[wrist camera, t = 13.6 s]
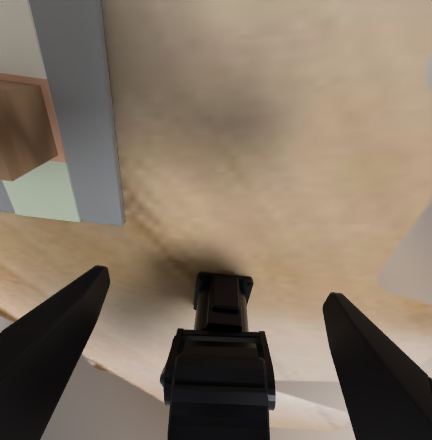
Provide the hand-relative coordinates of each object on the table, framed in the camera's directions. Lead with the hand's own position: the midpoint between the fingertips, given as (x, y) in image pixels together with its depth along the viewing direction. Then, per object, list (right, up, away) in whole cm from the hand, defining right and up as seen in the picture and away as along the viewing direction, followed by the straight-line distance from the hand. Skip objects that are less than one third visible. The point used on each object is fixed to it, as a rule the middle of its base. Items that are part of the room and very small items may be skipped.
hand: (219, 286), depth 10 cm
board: (-15, +11, +9) cm, 21 cm away
